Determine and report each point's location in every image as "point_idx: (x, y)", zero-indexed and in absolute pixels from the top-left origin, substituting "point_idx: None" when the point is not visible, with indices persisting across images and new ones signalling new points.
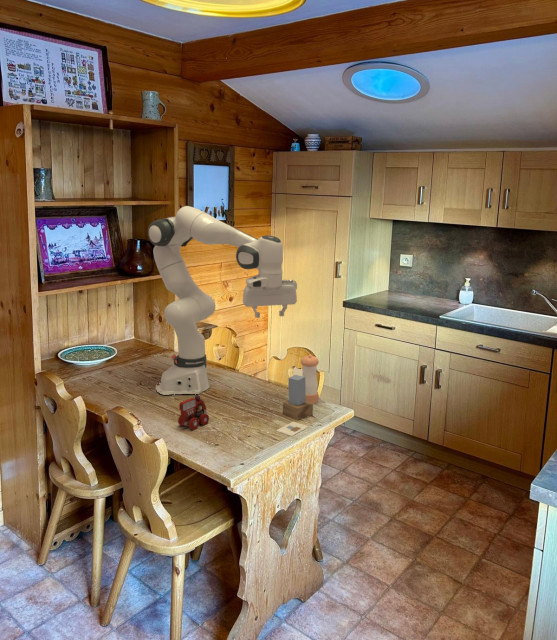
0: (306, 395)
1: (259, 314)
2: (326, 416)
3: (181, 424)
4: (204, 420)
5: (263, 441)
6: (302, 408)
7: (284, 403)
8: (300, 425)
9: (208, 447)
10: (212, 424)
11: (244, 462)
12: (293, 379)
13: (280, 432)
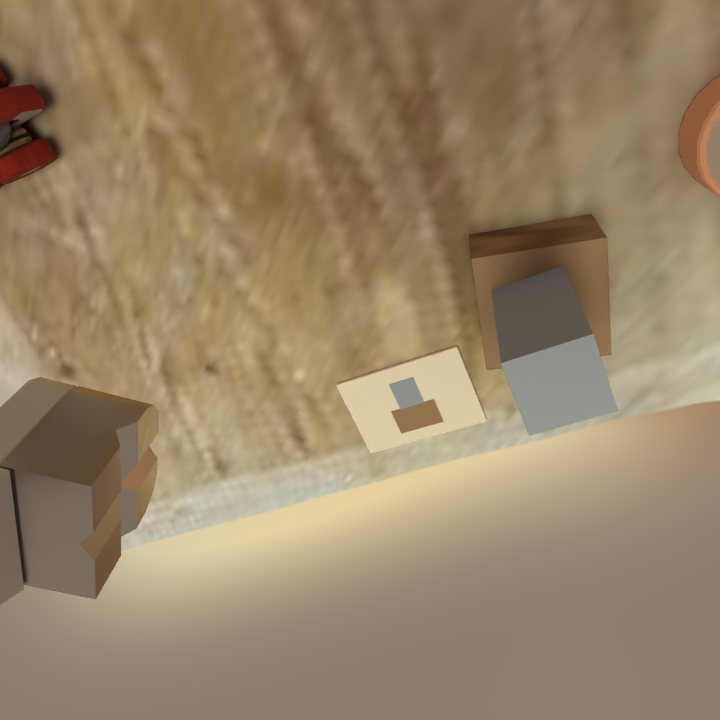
0: (706, 182)
1: (100, 566)
2: (644, 367)
3: None
4: (26, 173)
5: (247, 431)
6: None
7: (473, 270)
8: (459, 397)
9: (32, 375)
10: (80, 178)
11: None
12: (515, 399)
13: (346, 402)
